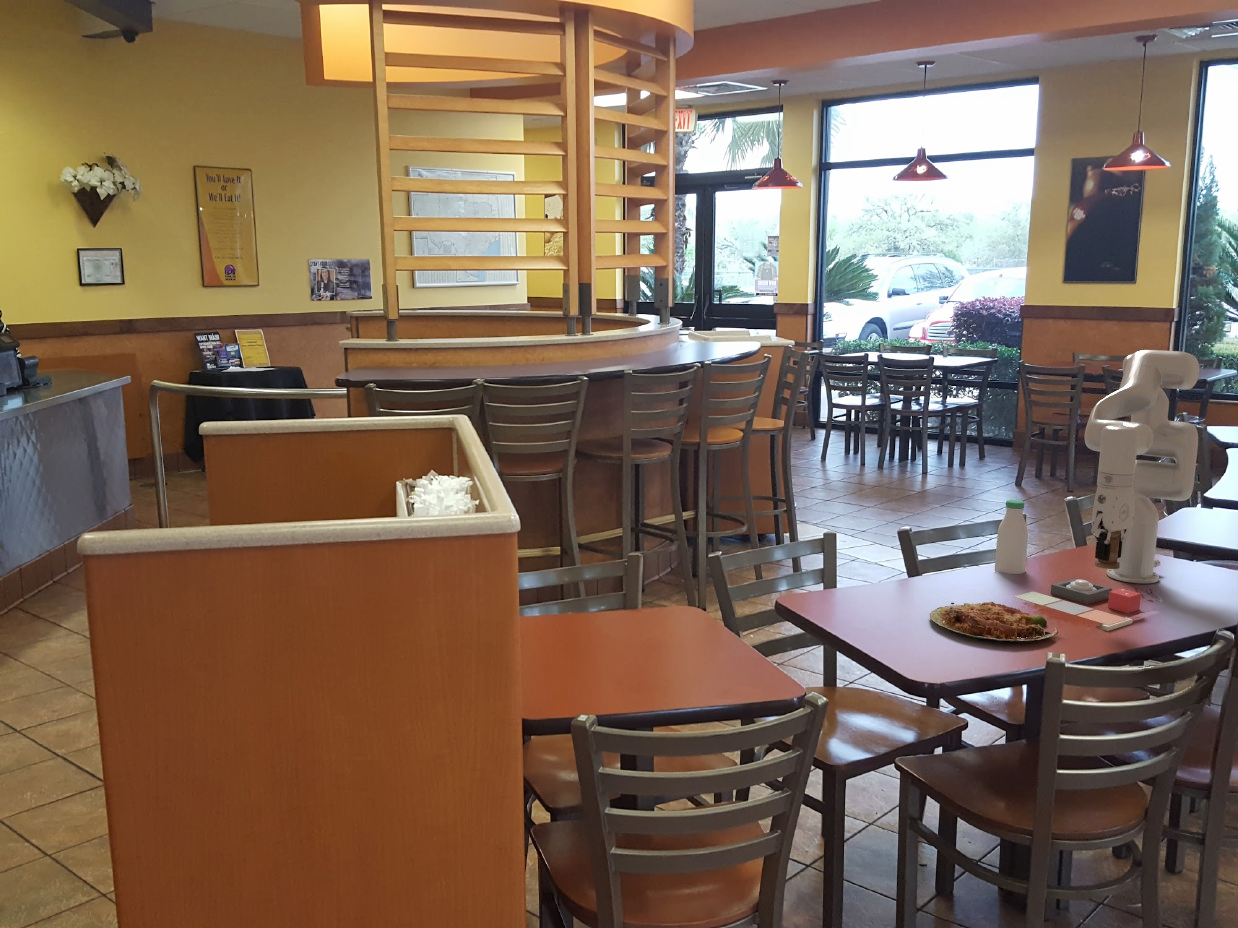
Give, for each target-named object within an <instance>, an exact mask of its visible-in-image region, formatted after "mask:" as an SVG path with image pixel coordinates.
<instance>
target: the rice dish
mask: <svg viewBox="0 0 1238 928" xmlns="http://www.w3.org/2000/svg"><path fill="white" fill-rule="evenodd" d="M929 617H930V620H931V621H933V622H934V623H935V624H938V626H941V627H943V628H946V629H948V630H951V631H953V632H954V633H957V634H960V635H964V636H968V637H970V638H971V637H972V638H975V639H976V638H978V639H981V640H982V639H985V640H986V639H987V640H988V639H989V640H994V641H997V642H1003V641H1004V642H1005V641H1008V642H1033V641H1036V640H1037V641H1040V640H1042V639H1048V638H1051V637H1053V636H1055V635H1056V634H1057V633H1058V630H1057V629H1058V628H1057V627H1054V631H1053V632H1048V631H1045V630H1044V627H1046V626H1047V625H1048V621H1047V619H1046V618H1045V617H1044V616H1043V615H1040V614H1037V615H1031V614H1030V613H1028V612H1022V610H1021V609H1020V608H1016V607H1013V606H1007V605H1005V604H1001V603H995V602H993V601H989V602H986V601H985V602H982V603H980V602H979V603H978V602H976V603H968V602H963V604H961V605H959V604H958V605H946V606H940V607H937V608H935V609H933V610H932V611H931V612H930V613H929ZM1043 631H1045V635H1044V633H1043ZM1036 636H1041V638H1036V639H1034V638H1031V639H1021V638H1026V637H1036ZM1017 637H1021V638H1017Z"/></svg>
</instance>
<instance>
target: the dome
mask: <svg viewBox="0 0 1238 928" xmlns="http://www.w3.org/2000/svg"><path fill="white" fill-rule="evenodd" d="M1089 582H1090V581H1088V580H1085V579H1080V580H1075V581H1073V582H1071V583H1070V584H1069V585H1067V586H1066V587H1068V588H1072V589H1075V590H1079V591H1082V592H1086V593H1088V592H1091V591H1095V590H1097V589H1096V588H1094V587H1093V585H1092V584H1091V583H1092V582H1091V583H1089Z"/></svg>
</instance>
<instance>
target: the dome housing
mask: <svg viewBox="0 0 1238 928" xmlns="http://www.w3.org/2000/svg"><path fill="white" fill-rule="evenodd" d="M1075 580H1081V579H1080V578H1075V577H1074V578H1072V579H1067V580H1064V581H1063V580H1062V581H1060V582H1056V583H1052V584H1051V585H1050V595H1053V596H1056V597H1060V598H1063V599H1067V600H1071V601H1074V602H1077V603H1081V604H1085V605H1091V604H1094V603H1098V602H1101V601H1104V600H1109V592H1110V591H1113V588H1112V587H1109V586H1107V585H1106V586H1105V585H1101V584H1099V583H1098V584H1097V583H1094V582H1090V581H1088V582H1089V583H1091V584H1092V585H1093V587H1094V588H1096V589H1097V590H1095V591H1091V592H1088V593H1086V592H1082V591H1079V590H1075V589H1072V588H1068V587H1066V586H1067V585H1069V584H1070V583H1071V582H1073V581H1075Z"/></svg>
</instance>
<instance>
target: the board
mask: <svg viewBox="0 0 1238 928" xmlns="http://www.w3.org/2000/svg"><path fill="white" fill-rule="evenodd" d="M1013 598H1015V599H1019V600H1022V601H1026V602H1029V603H1033V604H1037V605H1039V606H1044V607H1046V608H1049V609H1053V610H1056V611H1059V612H1062V613H1066V614H1070V615H1073V616H1075V615H1076V617H1080V618H1083V619H1086V620H1090V621H1093V622H1097V623H1100V625H1096V626H1095V628H1096V629H1098V630H1099V629H1100V630H1103V631H1106V632H1109V631H1113V630H1115V629H1118V628H1122V627H1125V626H1128V625H1131V624H1133V621H1134V620H1133V618H1130V617H1128V616H1126V617H1123V616H1120V615H1117V614H1112V613H1109V612H1105V611H1102V610H1099V609H1094V608H1092V607H1089V606H1085V605H1081V604H1078V603H1076V602H1075V603H1074V602H1072V601H1067V600H1063V599H1061V598H1057V597H1054V596H1049V595H1047V594H1043V593H1041V592H1036V591H1030V592H1026V593H1023V594H1018V595H1014V596H1013Z"/></svg>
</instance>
